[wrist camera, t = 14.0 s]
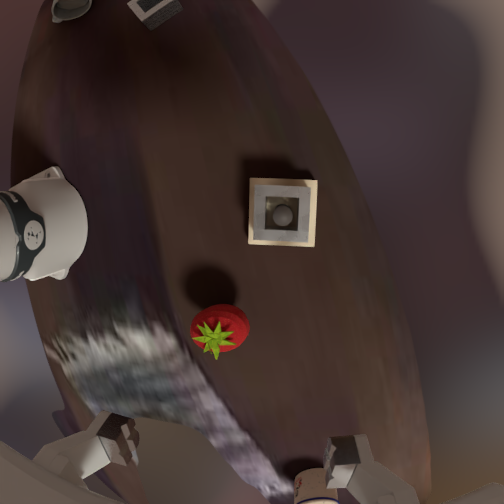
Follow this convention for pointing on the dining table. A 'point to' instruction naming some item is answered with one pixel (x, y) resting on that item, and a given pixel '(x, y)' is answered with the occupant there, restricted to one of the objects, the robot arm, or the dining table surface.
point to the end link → (281, 232)
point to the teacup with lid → (313, 488)
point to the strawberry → (219, 328)
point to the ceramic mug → (69, 9)
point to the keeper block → (283, 209)
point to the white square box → (154, 11)
